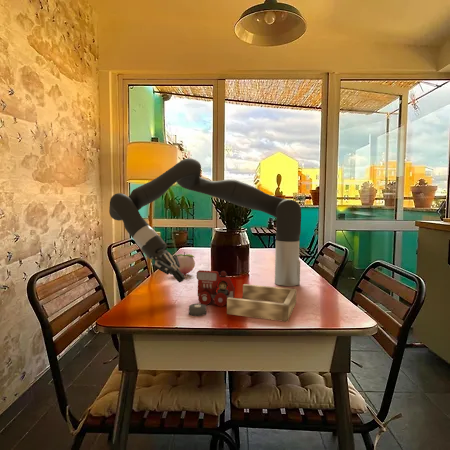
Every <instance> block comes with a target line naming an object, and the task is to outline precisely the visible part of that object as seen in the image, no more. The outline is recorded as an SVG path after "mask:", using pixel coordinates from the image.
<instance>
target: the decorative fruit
mask: <svg viewBox="0 0 450 450" xmlns="http://www.w3.org/2000/svg"><path fill="white" fill-rule="evenodd" d="M185 253H186V252H183V254H182V253H179V254H176V255H177V258H178V261H179V264H180V267H179V271H180V272H181V273H182V274H183V275H184V276H185V275H188V274H189V273H190V272H192V271H193V269H194V268H195V266H196V265H195V264H196V262H195V258H196V257H195V255H193V254H191V253H188V254H185Z"/></svg>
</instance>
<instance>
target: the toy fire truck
mask: <svg viewBox="0 0 450 450" xmlns="http://www.w3.org/2000/svg"><path fill="white" fill-rule="evenodd" d="M196 279H197V297H198V298H197V299H198V302H199V304H204V305H206V306H207V305H209V304H210V303H211V301H212V300H213V301H214V304H215V305H217V307H224V306H225V305H227V298H229V297H230V298H236V296H235V295H236V294H235V293H236V289H235V285H234V283H233V282H232V279H231V278H230V276H227V272H226V271H225V270H221V271H220V272H219V271H217V270H202V269H200V270H197V271H196Z"/></svg>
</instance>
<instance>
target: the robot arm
mask: <svg viewBox="0 0 450 450" xmlns="http://www.w3.org/2000/svg"><path fill="white" fill-rule="evenodd" d="M201 165H202V164H201V163H200V162H199V161H198V160H197V159H195V158H190V157H189V158H188V157H187V158H184V159H182V160H180V161H179V162H177V163H175V164H174V165H173V166H172V167H171V168H168V170H166V171H165V172H163V173H162V174H160V175H159V176H157V177H155V178H153V179H152V180H151V181H148V182H146V183H144V184H142V185H140V186H138V187H136V188H134V189H133V190H132V191H131V192H130V194H129V196H128V195H127V194H124V193H120V192H118V193H115V194H113V195H112V196H111V197H110V200H109V216H110V218H111V219H113V220H114V221H122V222H123V226H124V229H125V231H126V232H127V233H128V235H130V237H131V238H132V239H133V240H134V242H135V244H136V245H137V246H138V247H139V250H141V251H142V252H143V253H144V255H145V256H146V257H147V258H148V259H149V260H153V261H154V264H153V267H154V268H155V269H157V270H159V271H161V272H162V273H164V274H166V275H171V276H173V277H174V279H175V280H176V281H177V282H178V283H182V282H184V280H185V279H186V277H185V275H184V274H182V273H181V272H180V271H179V267H180V264H179V261H178V258H177V255H178V254H174V255H172V254H171V252H169V251H168V250H167V243H166V242H165V241H164V239H163V238H162V237H161V236H160V235H159V234H158V233H157V232H156V230H155V229H154V228H153V227H152V226H150V224H149V223H148V222H147V221H146V220H145V219H144V217H143V216H142V215H141V212H140V211H139V210H141V209H142V208H143V207H145V206H147V205H149V204H151V203H153V202H155V201H156V200H158V199H160V198H161V197H162V196H163V195H164V194H166V193H167V191H168V190H169V189H170V188H171V187H172V186H173V185H175V183H177V184H178V186H180V187H181V188H184V189H185V190H189V191H193V192H197V193H199V194H200V193H201V194H204V195H208V196H211V197H214V198H217V199H219V200H223V201H225V202H228V203H230V204H233V205H236V206H237V207H242V208H246V209H249V210H255V211H260V212H262V213H265V214H267V215H270V216H272V217H274V218H275V219H276V227H275V228H276V231H275V252H274V253H275V254H274V255H275V260H274V263H275V264H274V265H275V266H274V284H275V285H277V286H283V287H284V286H285V287H294V286H300V285H301V284H300V283H301V260H300V238H301V232H302V230H301V229H302V227H301V225H302V208H301V205H300V203H298V202H297V201H296V200H294V199H289V198H288V199H287V198H281V197H278V196H274V195H271V194H268V193H266V192H264V191H262V190H260V189H258V188H257V187H255V186H252V185H250V184H249V183H246V182H242V181H240V180H237V179H233V178H232V179H222V180H221V179H220V180H210V179H206V178H203V177H201V174H202V166H201Z"/></svg>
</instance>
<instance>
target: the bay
mask: <svg viewBox="0 0 450 450" xmlns="http://www.w3.org/2000/svg"><path fill="white" fill-rule="evenodd" d="M296 303H297V288H289V287H280V286H278V287H276V286H267V285H258V284H257V285H256V284H247V283H244V284H242V298H239V297H238V298H237V297H234V298H230V297H229V298H227V303H226V315H232V316H239V317H241V316H242V317H249V318H257V319H262V320H263V319H264V320H270V319H271V320H272V321H278V320H282V321H281V322H286V321H288V322H289V320H290V318H291V316H290V315H292V313H293V311H294V309H295V307H296ZM293 308H294V309H293ZM289 317H290V318H289ZM288 319H289V320H288Z"/></svg>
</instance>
